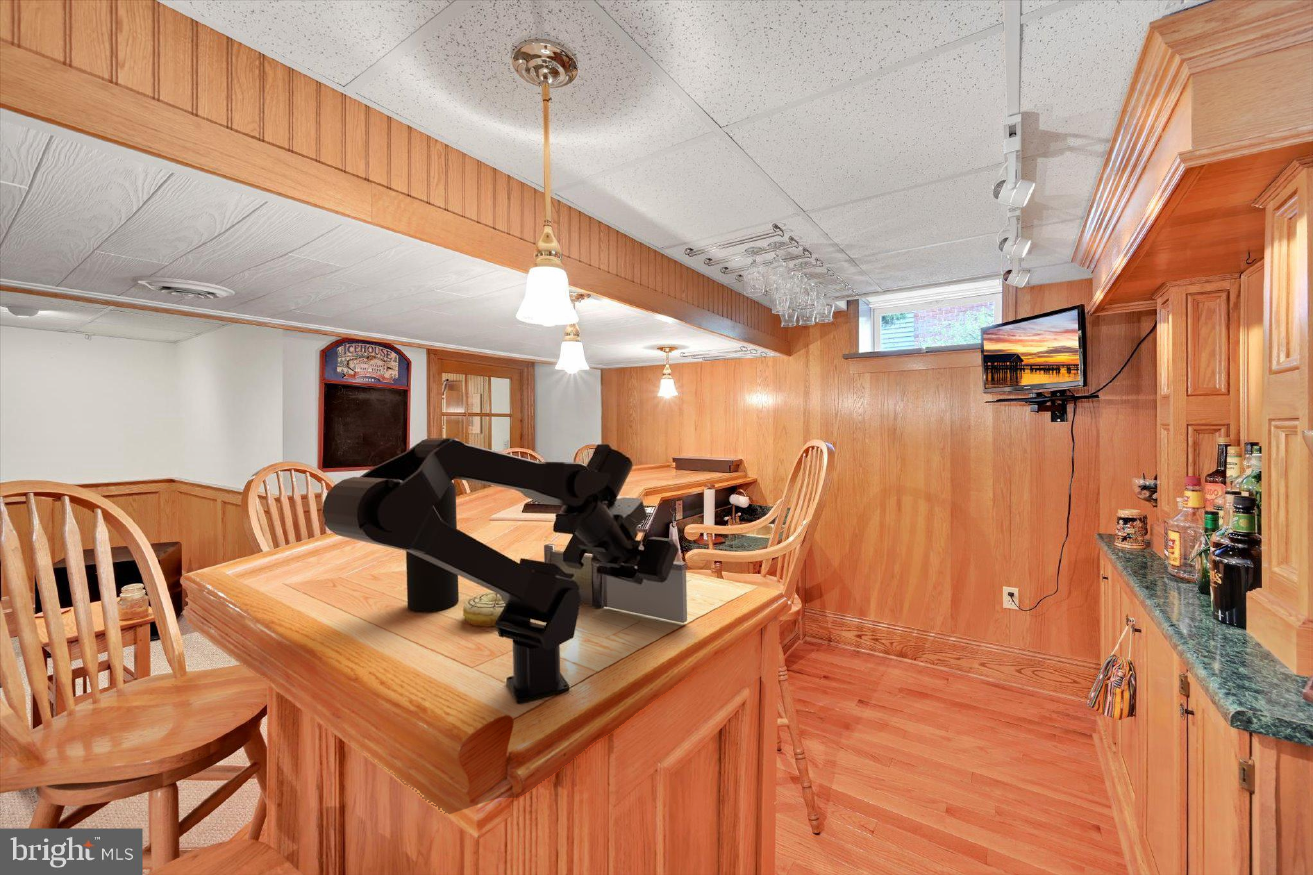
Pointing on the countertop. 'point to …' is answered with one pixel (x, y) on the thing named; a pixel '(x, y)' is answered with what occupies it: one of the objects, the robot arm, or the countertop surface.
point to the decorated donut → (483, 609)
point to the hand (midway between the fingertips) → (640, 581)
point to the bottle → (433, 569)
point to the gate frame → (580, 576)
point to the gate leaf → (650, 595)
